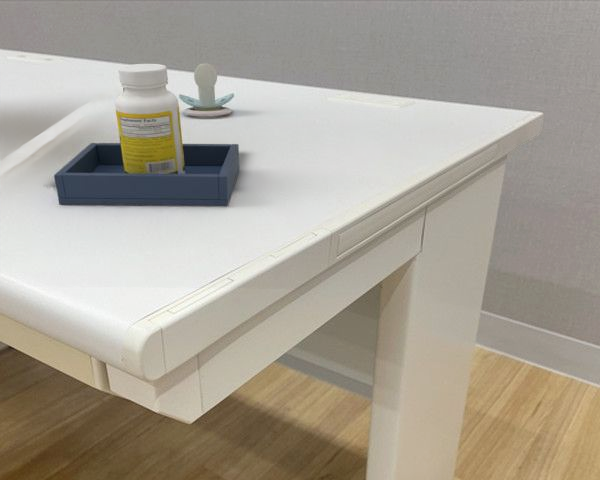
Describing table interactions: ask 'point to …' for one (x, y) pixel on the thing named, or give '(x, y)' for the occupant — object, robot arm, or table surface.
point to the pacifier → (206, 94)
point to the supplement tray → (149, 178)
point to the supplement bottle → (149, 121)
